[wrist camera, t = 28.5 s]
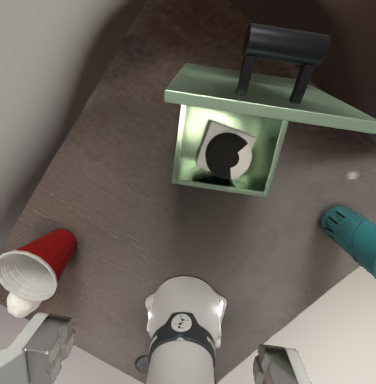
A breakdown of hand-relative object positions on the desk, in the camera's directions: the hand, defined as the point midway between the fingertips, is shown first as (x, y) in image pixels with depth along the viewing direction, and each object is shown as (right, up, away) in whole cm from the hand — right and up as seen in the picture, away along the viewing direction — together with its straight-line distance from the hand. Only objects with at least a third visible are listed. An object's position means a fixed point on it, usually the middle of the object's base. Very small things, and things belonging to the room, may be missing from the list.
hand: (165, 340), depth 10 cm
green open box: (+7, +17, +31) cm, 36 cm away
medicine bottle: (+7, +15, +31) cm, 35 cm away
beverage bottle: (+30, +2, +36) cm, 46 cm away
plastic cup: (-26, -4, +40) cm, 48 cm away
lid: (+7, +16, +12) cm, 21 cm away
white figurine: (-35, -16, +44) cm, 59 cm away
